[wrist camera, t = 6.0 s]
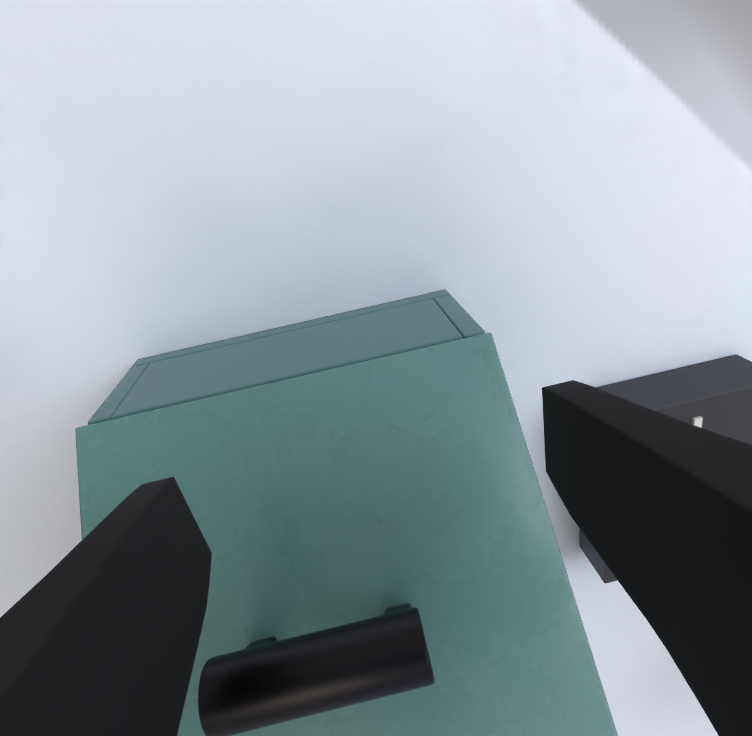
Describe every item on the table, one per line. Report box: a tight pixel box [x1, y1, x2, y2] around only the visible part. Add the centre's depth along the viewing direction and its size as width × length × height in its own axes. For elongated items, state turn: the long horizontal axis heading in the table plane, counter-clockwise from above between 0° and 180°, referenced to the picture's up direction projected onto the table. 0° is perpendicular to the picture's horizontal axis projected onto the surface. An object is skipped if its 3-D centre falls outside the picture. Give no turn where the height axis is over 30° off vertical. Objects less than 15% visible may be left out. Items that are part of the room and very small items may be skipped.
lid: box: [76, 333, 618, 736], centre depth 11 cm, size 12×12×4 cm
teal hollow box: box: [88, 290, 485, 425], centre depth 19 cm, size 11×12×5 cm
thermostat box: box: [580, 355, 752, 583], centre depth 23 cm, size 10×8×3 cm
